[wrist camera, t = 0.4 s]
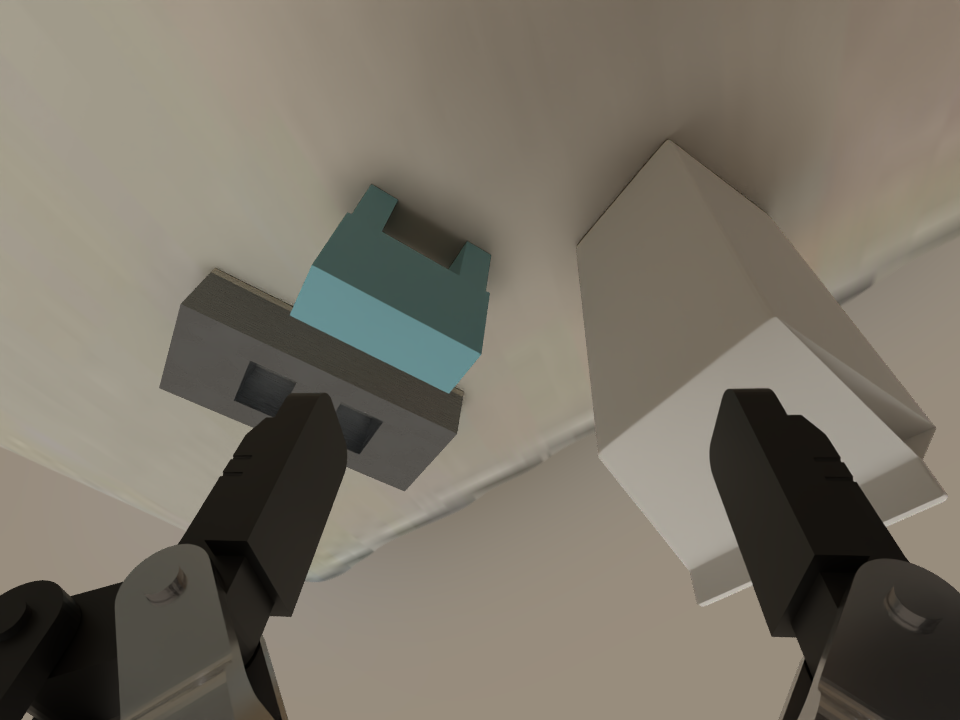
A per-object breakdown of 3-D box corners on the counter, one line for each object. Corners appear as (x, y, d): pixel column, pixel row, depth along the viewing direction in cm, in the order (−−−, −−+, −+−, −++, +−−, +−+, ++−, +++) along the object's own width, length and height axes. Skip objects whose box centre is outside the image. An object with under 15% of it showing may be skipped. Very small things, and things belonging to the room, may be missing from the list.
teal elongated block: (348, 223, 29) (289, 315, 22) (368, 180, 28) (311, 264, 21) (468, 291, 32) (448, 393, 25) (494, 255, 30) (481, 354, 23)
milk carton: (574, 246, 29) (607, 566, 15) (667, 136, 25) (843, 430, 10) (668, 307, 31) (779, 641, 17) (769, 214, 27) (1035, 552, 12)
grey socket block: (190, 349, 37) (159, 387, 34) (214, 267, 32) (180, 304, 29) (414, 450, 42) (404, 491, 39) (463, 392, 37) (457, 433, 34)
